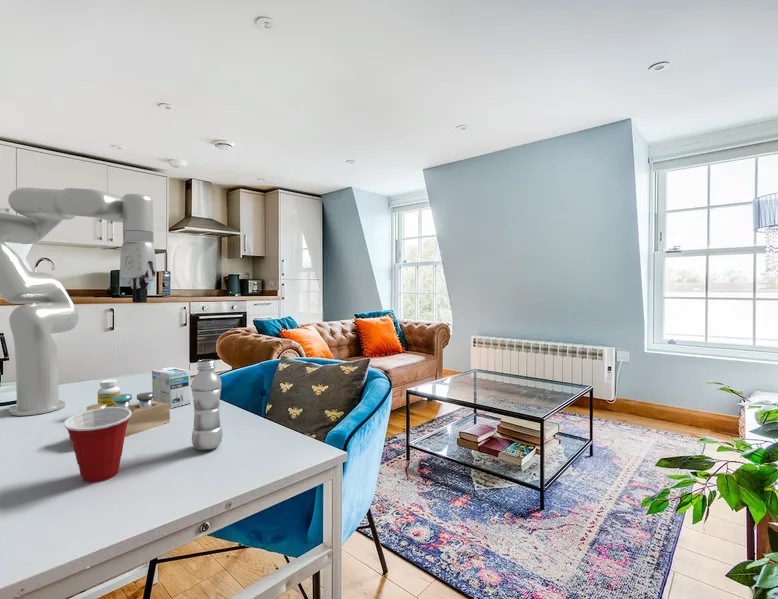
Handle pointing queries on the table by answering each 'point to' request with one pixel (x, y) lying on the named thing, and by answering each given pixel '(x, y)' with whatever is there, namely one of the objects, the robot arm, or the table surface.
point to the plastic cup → (98, 441)
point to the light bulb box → (171, 386)
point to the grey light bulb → (145, 399)
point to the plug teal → (122, 400)
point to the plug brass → (96, 406)
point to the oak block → (146, 417)
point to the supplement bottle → (108, 392)
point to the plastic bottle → (206, 406)
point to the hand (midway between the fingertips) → (139, 302)
